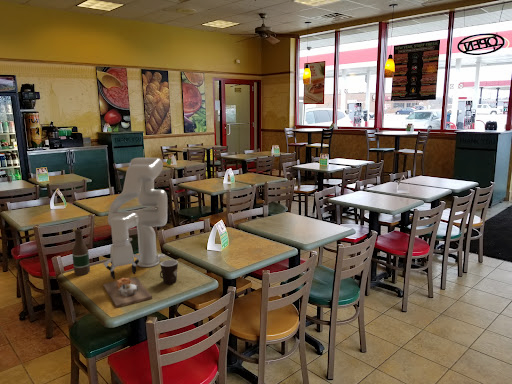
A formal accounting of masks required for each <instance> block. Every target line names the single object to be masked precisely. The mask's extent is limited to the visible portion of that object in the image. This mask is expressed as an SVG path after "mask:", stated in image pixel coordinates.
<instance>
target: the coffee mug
mask: <svg viewBox="0 0 512 384" xmlns="http://www.w3.org/2000/svg"><path fill="white" fill-rule="evenodd" d="M159 265H160V270H161V271H160V272H159V276H160V278H161V279H162V282H163V284H165V285H172V284H173V285H174V284H176V283H177V282H178V281H177V278H178V265H179V261H178V260H175V259H166V260H163V261H160V263H159Z"/></svg>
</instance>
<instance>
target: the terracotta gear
mask: <svg viewBox="0 0 512 384" xmlns="http://www.w3.org/2000/svg"><path fill="white" fill-rule="evenodd" d="M130 278H131V277H121V278H120V279H117V280H116V281H117V287H119V289H120V288H121V285H123V284H125V285H127V284H130V283H131V280H130Z"/></svg>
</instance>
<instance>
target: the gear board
mask: <svg viewBox="0 0 512 384" xmlns="http://www.w3.org/2000/svg"><path fill="white" fill-rule="evenodd" d="M129 278H130V280H131V283H130V284H127V285H125V284H123V285H121V288H120V289H119V287H117V280H115V281H111V282H107V283H103V287H104V289H105V291H106V293H107V294H108V296H109V298H110V300H111V301H112V303H113V304H114V306H115V308H120V307H124V306H128V305H132V304H135V303H136V304H137V303H140V302H145V301H148V300H152V299H153V295H152V294H151V293H150V292H149V291H148V289H147V288H146V287H145V286H144V285H143V283H142V282H141V280H140V279H139V278H138V277H137V276H133V277H129Z"/></svg>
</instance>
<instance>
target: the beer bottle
mask: <svg viewBox="0 0 512 384" xmlns="http://www.w3.org/2000/svg"><path fill="white" fill-rule="evenodd" d="M74 239H75V241H74V242H75V243H74V246H73V249H72V263H73V271H74V274H75V275H76V276H85V275H87V274H90V271H91V267H90V255H89V248H88V247H87V245H86V244H85V243H84V237H83V229H81V228H77V229H75V230H74Z"/></svg>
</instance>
